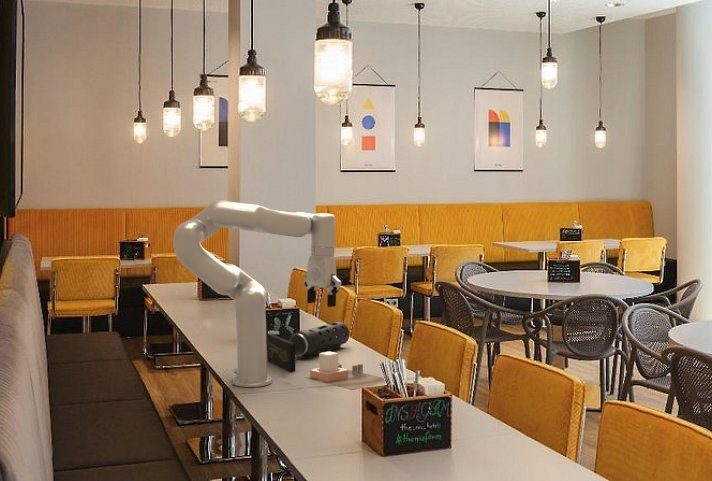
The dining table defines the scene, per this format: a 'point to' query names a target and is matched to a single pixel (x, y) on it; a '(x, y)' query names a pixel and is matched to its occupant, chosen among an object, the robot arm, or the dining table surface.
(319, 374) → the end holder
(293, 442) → the dining table surface
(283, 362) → the nameplate
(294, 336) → the muzzle brake
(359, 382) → the board
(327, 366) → the white rectangular block
